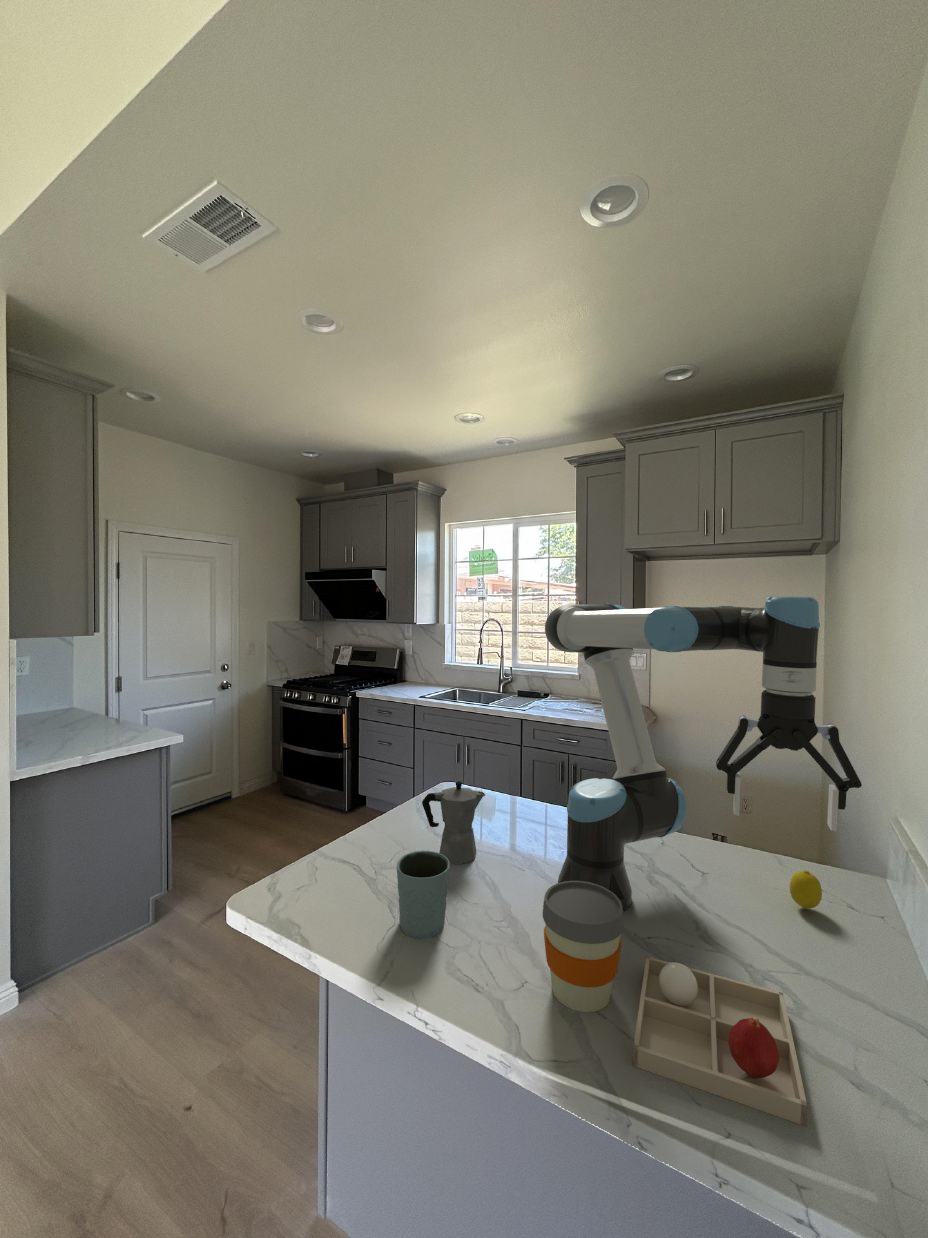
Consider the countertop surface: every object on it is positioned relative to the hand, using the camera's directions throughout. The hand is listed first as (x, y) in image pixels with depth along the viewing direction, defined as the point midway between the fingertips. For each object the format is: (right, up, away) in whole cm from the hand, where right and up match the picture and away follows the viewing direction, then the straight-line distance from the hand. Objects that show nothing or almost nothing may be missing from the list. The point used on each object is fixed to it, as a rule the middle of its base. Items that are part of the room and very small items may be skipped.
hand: (782, 820), depth 88 cm
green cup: (-60, -26, +14) cm, 67 cm away
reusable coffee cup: (-34, -27, -3) cm, 43 cm away
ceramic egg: (-19, -26, -5) cm, 33 cm away
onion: (-14, -27, -18) cm, 35 cm away
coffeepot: (-55, -24, +41) cm, 73 cm away
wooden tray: (-17, -27, -11) cm, 34 cm away
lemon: (+17, -26, +21) cm, 38 cm away
